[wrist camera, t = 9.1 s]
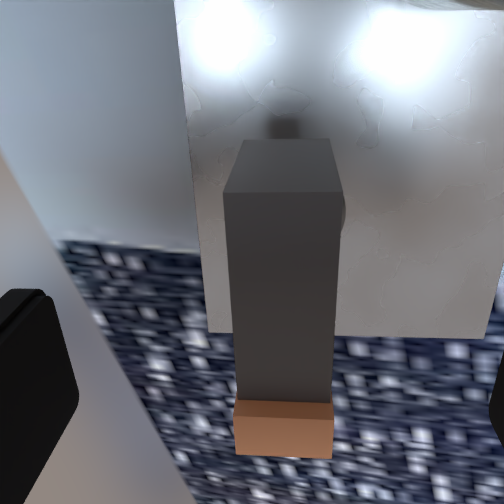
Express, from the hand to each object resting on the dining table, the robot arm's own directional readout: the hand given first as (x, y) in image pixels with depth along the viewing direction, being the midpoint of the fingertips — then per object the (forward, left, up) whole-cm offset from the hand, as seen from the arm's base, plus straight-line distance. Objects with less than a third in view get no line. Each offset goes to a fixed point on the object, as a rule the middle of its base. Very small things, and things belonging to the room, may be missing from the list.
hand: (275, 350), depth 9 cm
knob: (-1, 0, -6) cm, 6 cm away
